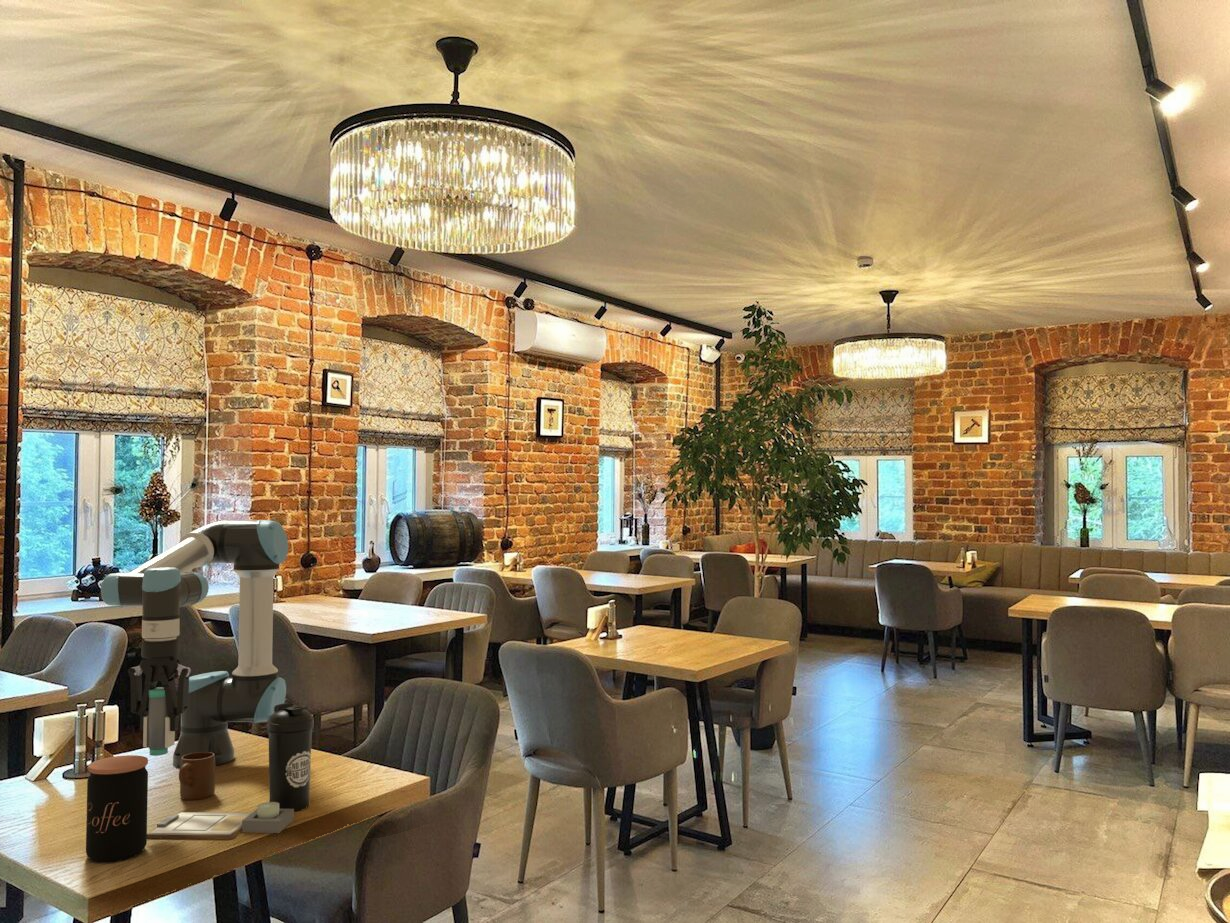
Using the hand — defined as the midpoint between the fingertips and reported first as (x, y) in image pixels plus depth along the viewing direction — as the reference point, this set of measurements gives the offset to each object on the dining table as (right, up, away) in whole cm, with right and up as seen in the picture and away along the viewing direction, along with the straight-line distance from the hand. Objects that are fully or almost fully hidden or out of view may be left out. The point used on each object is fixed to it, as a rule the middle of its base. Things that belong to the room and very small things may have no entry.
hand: (158, 745), depth 207 cm
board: (+12, -16, -4) cm, 21 cm away
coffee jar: (+1, -16, -20) cm, 25 cm away
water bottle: (+25, -17, +9) cm, 32 cm away
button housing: (+25, -16, -4) cm, 30 cm away
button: (+25, -15, -4) cm, 30 cm away
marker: (0, -2, 0) cm, 2 cm away
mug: (+1, -17, +15) cm, 23 cm away
